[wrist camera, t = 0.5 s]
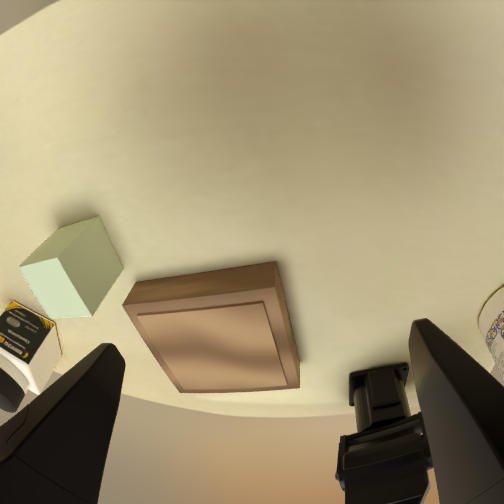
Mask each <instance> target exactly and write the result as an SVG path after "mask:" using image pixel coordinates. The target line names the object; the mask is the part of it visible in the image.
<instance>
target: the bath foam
mask: <svg viewBox="0 0 504 504" xmlns="http://www.w3.org/2000/svg"><path fill="white" fill-rule="evenodd" d="M478 326H479V330H480V332H481V334H482V336H483V338H484V340H485V342H486V344H487V346H488V348H489V350H490V352H491V354H492V356H493V359H494V361H495V363H496V365H497V367H498V369H499V371H500V374H501V376H502V378H503V381H504V287H502V288H501V289H499V290H498V291H497V292H496V293H495V294H494V295H493V296H492V297H491V298H490V299H489V300H488V301H487V303H486V304H485V306H484V308H483V309H482V311H481V314H480V316H479V321H478Z"/></svg>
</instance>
